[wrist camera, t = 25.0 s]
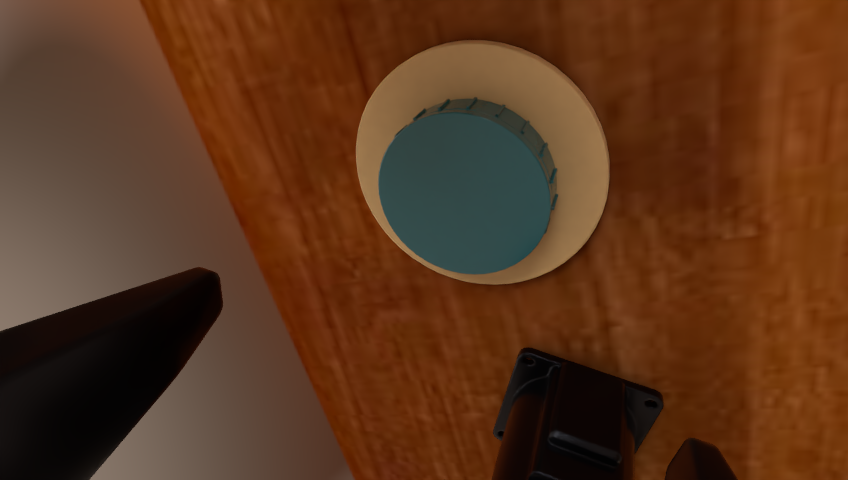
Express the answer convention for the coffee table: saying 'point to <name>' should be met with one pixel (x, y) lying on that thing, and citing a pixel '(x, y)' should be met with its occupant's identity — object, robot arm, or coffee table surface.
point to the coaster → (523, 94)
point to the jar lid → (468, 186)
